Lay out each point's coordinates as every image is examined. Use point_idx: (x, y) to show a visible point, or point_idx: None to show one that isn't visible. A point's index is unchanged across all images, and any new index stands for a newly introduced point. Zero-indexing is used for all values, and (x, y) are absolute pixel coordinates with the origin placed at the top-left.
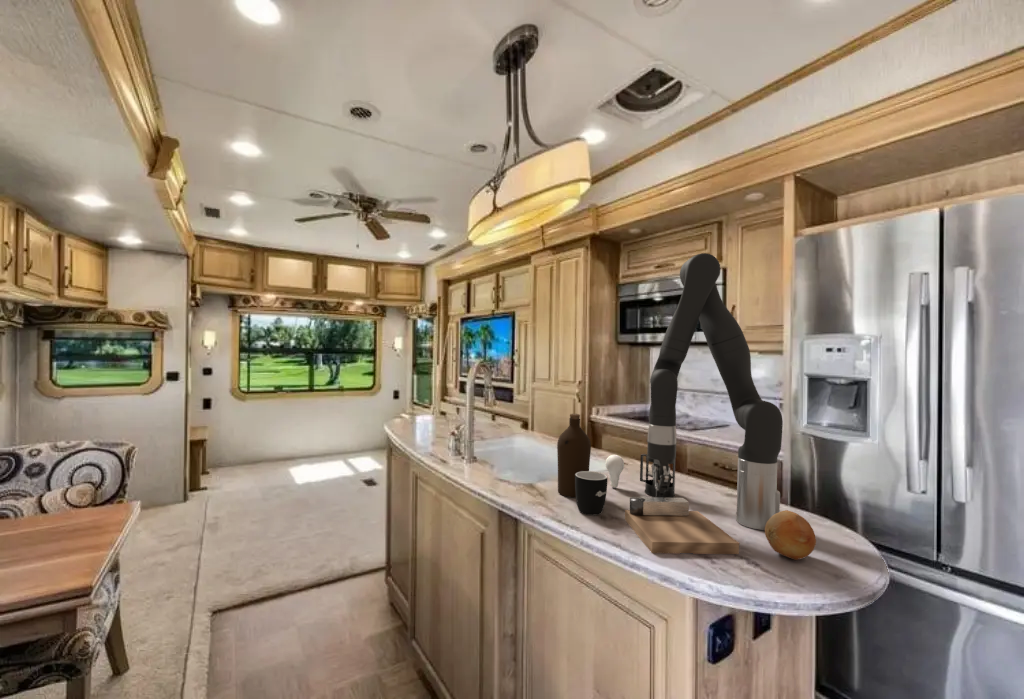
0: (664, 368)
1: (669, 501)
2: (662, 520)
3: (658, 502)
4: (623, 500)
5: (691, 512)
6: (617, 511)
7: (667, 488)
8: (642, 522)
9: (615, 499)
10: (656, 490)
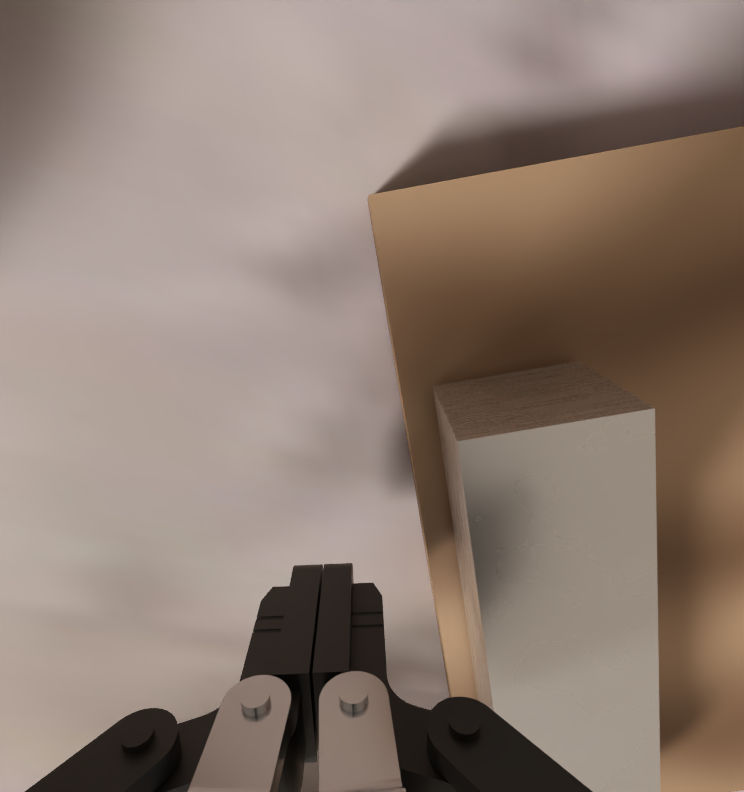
0: None
1: (644, 641)
2: (689, 611)
3: (653, 741)
4: (17, 730)
5: (430, 286)
6: (302, 784)
7: (528, 754)
8: (737, 751)
9: (18, 778)
10: (314, 754)
